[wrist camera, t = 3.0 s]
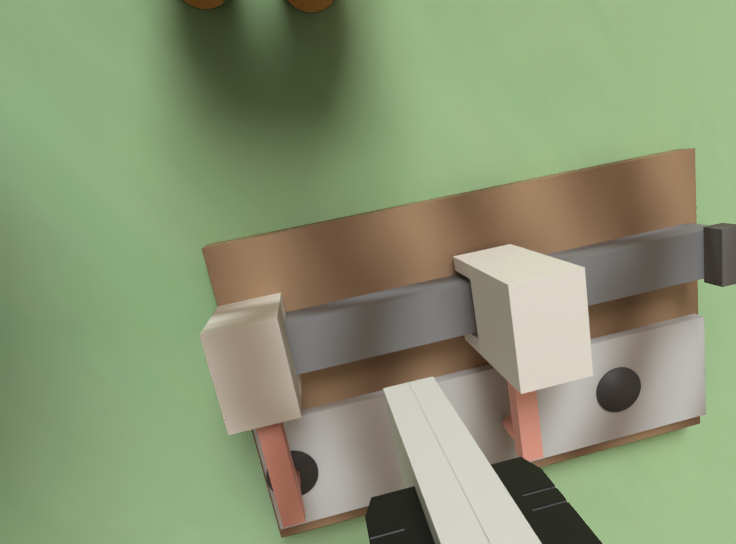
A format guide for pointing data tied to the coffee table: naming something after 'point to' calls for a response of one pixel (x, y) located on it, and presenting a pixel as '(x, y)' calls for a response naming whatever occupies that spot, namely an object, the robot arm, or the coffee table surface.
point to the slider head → (528, 328)
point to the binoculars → (312, 3)
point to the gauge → (457, 326)
